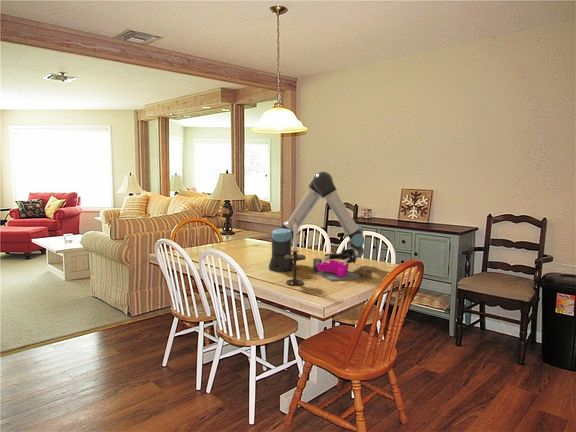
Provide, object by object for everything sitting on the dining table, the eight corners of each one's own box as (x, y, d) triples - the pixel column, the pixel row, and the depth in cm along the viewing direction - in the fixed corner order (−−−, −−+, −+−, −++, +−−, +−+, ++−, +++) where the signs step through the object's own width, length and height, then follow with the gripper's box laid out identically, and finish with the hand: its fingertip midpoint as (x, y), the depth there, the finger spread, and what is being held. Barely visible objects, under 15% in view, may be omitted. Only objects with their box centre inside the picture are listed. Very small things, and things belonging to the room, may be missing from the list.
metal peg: (315, 272, 241) (315, 260, 240) (311, 270, 246) (311, 258, 245) (323, 271, 243) (323, 259, 242) (319, 269, 248) (319, 258, 247)
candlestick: (283, 280, 222) (284, 215, 218) (304, 280, 223) (304, 215, 219) (285, 286, 212) (285, 218, 208) (306, 286, 212) (307, 218, 208)
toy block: (348, 264, 231) (342, 266, 224) (347, 275, 231) (341, 277, 225) (325, 257, 239) (318, 259, 232) (323, 268, 240) (317, 270, 233)
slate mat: (331, 281, 222) (331, 279, 222) (316, 273, 239) (316, 271, 238) (360, 278, 229) (360, 276, 229) (344, 270, 245) (344, 268, 245)
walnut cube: (363, 278, 228) (363, 269, 227) (359, 276, 233) (359, 267, 232) (371, 278, 229) (372, 269, 229) (367, 275, 234) (367, 267, 233)
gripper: (368, 263, 242) (353, 270, 224) (331, 258, 255) (314, 264, 236) (368, 250, 242) (354, 257, 223) (331, 246, 254) (315, 251, 235)
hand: (334, 261), depth 230 cm, fingers closed on toy block, 11 cm apart
